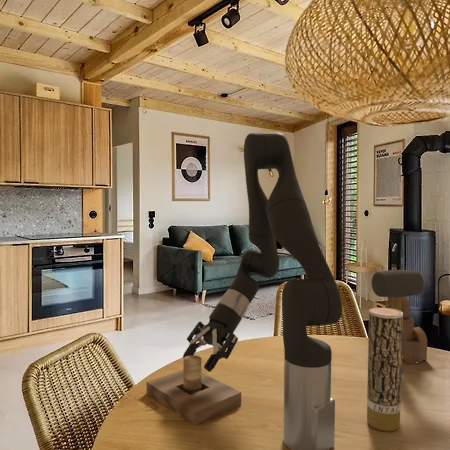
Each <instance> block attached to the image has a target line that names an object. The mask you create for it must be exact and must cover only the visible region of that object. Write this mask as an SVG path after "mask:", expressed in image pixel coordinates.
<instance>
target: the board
mask: <svg viewBox="0 0 450 450" xmlns="http://www.w3.org/2000/svg"><path fill="white" fill-rule="evenodd" d="M201 385H202V388H201V391H199V392H196V393H194V394H191V395H189V394H188V393H186V392H184V389H183V369H181V370H178V371H175V372H172V373H169V374H166V375H163V376H161V377H157V378H154V379H151V380H148V381H146V395H148V396H150V397H151V398H153V399H155V400H156V401H157V402H159V403H160V404H162V405H164V407H166V408H168V409H169V410H171V412H173V413H176V414H177V415H178V416H180V417H182V418H183V419H185V421H188V422H189V423H190V424H192V425H193V426H197V425H199V424H202V423H203V422H205V421H207V420H210V419H212V418H215V417H217V416H219V415H221V414H223V413H225V412H228V411H230V410H232V409H234V408H237V407H239V406H240V405H242V391H240V390H238V389H236V388H234V387H232V386H229V385H228V384H226V383H223V382H221V381H220V380H218V379H215V378H214V377H212V376H209V375H207V374H206V373H204V372H202V371H201Z"/></svg>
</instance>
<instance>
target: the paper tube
mask: <svg viewBox="0 0 450 450" xmlns="http://www.w3.org/2000/svg"><path fill="white" fill-rule="evenodd" d="M402 336H403V313H402V312H401V311H399V310H395V309H390V308H387V307H373V308H370V309H369V312H368V346H367V349H368V352H367V389H366V390H367V391H366V392H367V393H366V394H367V395H366V396H367V397H366V420H367V421H366V422H368V424H369V426H371V427H372V428H374V429H376V430H378V431H381V432H395V431H397V430H399V428H400V426H401V406H402V405H401V403H402V400H401V399H402V375H401V373H402V369H403V356H402ZM402 374H403V373H402Z"/></svg>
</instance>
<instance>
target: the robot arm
mask: <svg viewBox="0 0 450 450" xmlns="http://www.w3.org/2000/svg"><path fill="white" fill-rule="evenodd" d="M243 162H244V163H243V164H244V173H245V175H244V176H245V184H246V193H247V194H246V195H247V202H248V203H247V204H248V241H249V242H250V243H251V244H253V245H254V246H255V247H257V248H254V247H252V248H249V249H247V250H246V251H245V252H244V253H243V255H242V257H241V259H240V263H239V267H238V269H237V272H236V276H235V278H234V279H233V281H232V282H231V284H230V286H229V288H228V289H227V291H225V293H224V294H223V295H222V296H221V298H220V299H219V301H218V302H217V304H216V305H215V307H214V308H213V310H212V311H211V313H210V315H209V316H208V317H209V318H208V319H209V321H208V323H206V324H204V323H203V322H202V321H198V322H197V324H196V325H195V326H194V327H193V329H192V330H191V332H190V333H189V335H188V336H187V338H186V341H188V343H189V345H188V347H187V348H186V349H185V351H184V353H183V355H182V359H184V357H186V356H192V355H195V353H196V352H197V350H198V349H199V348H200V347H202V346H206V345H209V346H212V351H213V352H212V353H211V354H210V356H209V357H208V359H207V361H206V362H205V364H204V365H203V368H204V369H205V370H206V371H207V372H208V373H211V372H212V371H213V370H214V368H215V367H216V365H217V364H218V362H219V360H221V359H225V360H228V359H229V358H230V356H231V354H232V352H233V350H234V348H235V346H236V344H237V343H238V341H239V337H237V335H236V334H235V331H236V330H237V328H238V326H239V325H240V323H241V321H242V320H243V318H244V316H245V315H246V313H247V311H248V308H249V306H250V304H251V303H252V301H253V300H254V298H255V296H256V295H257V293H258V291H259V288H260V286H259V283H258V282H257V281H256V279H254V278H253V277H252V276H251V275H252V274H253V275H257V276H260V277H263V278H266V279H272V278H274V277H275V276H276V275H277V273H278V272H279V269H280V256H279V251H278V247H277V243H276V241H277V242H278V243H279V245H280V246H281V247H282V248H283V249H284V250H285V251H286V252H287V253H288V254H289V255H291V256H292V257H293V258H294V259H295V260H296V261H297V262H298V264H299V265H300V266H301V268H302V269H303V271H304V273H305V275H306V277H307V278H299V279H297V278H296V279H290V280H288V281H286V282H285V283H284V285H283V287H282V292H281V312H282V313H281V314H282V340H283V351H284V353H283V354H284V359H283V362H284V363H283V365H284V366H283V367H284V368H283V369H284V370H283V443H284V445H285V447H287V448H288V449H289V450H331V449H333V447H335V434H336V433H335V429H336V428H335V426H336V425H335V421H336V419H335V418H336V400H335V399H334V398H332V397H331V396H332V357H333V356H332V352H333V351H332V347H331V346H330V345H329V344H328V343H327V342H325V340H321V339H319V338H315V337H312V336H308V332H307V331H308V330H307V329H308V328H307V327H315V326H316V327H318V326H326V325H333V324H337V323H339V321H340V320H341V317H342V314H343V302H342V297H341V296H342V295H341V293H340V289H339V288H338V285H337V281H336V280H335V277H334V275H333V273H332V271H331V268H330V267H329V264H328V262H327V260H326V258H325V255H324V253H323V250H322V248H321V246H320V242H319V241H318V237H317V235H316V231H315V228H314V225H313V221H312V218H311V215H310V211H309V209H308V206H307V203H306V201H305V198H304V195H303V192H302V190H301V186H300V184H299V181H298V178H297V173H296V170H295V165H294V162H293V157H292V152H291V148H290V145H289V140H288V138H287V136H285V134H284V133H281V132H278V131H277V132H275V131H274V132H273V131H272V132H269V131H268V132H250V133H248V134H247V135H246V136H245V138H244V143H243ZM272 169H273V170H276V171H277V173H278V177H277V181H276V184H274V187H273V189H272V191H271V193H270V194H269V197H268V196H267V195H266V193H265V192H264V190H263V188H262V186H261V183H260V180H259V173H258V172H259V170H272Z"/></svg>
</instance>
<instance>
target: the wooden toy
mask: <svg viewBox="0 0 450 450" xmlns="http://www.w3.org/2000/svg"><path fill="white" fill-rule="evenodd" d="M407 297H408V296H406V297H401V312H402V313H403V348H402V361H404V360H406V361H408V362H410V363H409V364H411V363H416V362H420V361H423V360H428V359H427V358H428V338H427V335H426V333H425V331H424V330H423V329H422V328H421V327H420V326H417V327H415V325H414V324H415V320H414V318H412V317H411V302H410V301H409V299H408V298H407ZM386 308H390V309H392V297H387V306H386ZM406 361H405V362H406ZM408 362H407V363H408ZM423 362H424V361H423ZM420 363H421V362H420ZM416 364H417V363H416Z"/></svg>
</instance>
